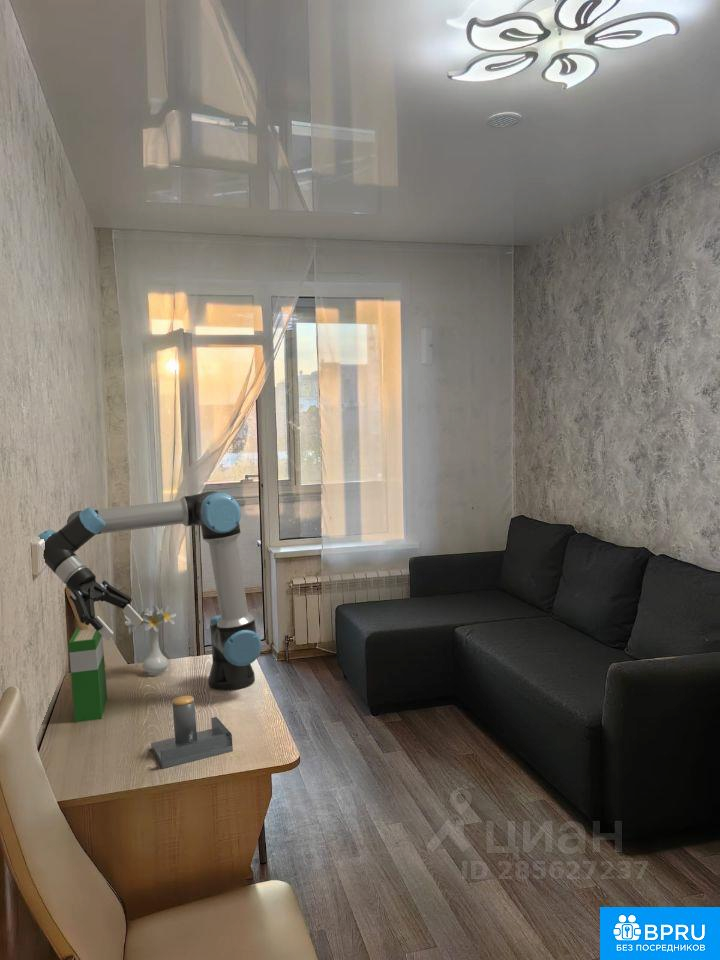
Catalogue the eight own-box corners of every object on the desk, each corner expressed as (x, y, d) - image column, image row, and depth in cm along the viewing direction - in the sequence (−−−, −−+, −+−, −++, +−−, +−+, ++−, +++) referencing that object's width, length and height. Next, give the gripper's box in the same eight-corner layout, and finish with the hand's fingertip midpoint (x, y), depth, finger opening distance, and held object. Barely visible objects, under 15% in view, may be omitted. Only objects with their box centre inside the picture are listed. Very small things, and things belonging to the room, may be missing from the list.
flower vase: (127, 673, 261) (122, 607, 259) (177, 665, 267) (173, 600, 266) (129, 683, 249) (124, 614, 248) (182, 674, 256) (177, 607, 254)
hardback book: (82, 702, 234) (76, 627, 232) (107, 698, 235) (101, 625, 234) (74, 722, 217) (68, 642, 215) (101, 718, 218) (95, 639, 217)
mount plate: (217, 732, 203) (216, 716, 203) (232, 751, 191) (231, 734, 190) (151, 748, 195) (150, 732, 195) (162, 768, 183) (161, 751, 182)
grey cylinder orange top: (194, 737, 197) (191, 693, 196) (199, 744, 192) (196, 700, 191) (173, 742, 194) (170, 698, 194) (178, 750, 189) (175, 704, 189)
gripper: (97, 576, 220) (144, 627, 216) (37, 595, 196) (89, 652, 192) (111, 558, 218) (158, 609, 214) (52, 575, 194) (104, 633, 190)
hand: (125, 630), depth 203 cm, fingers open, 13 cm apart
